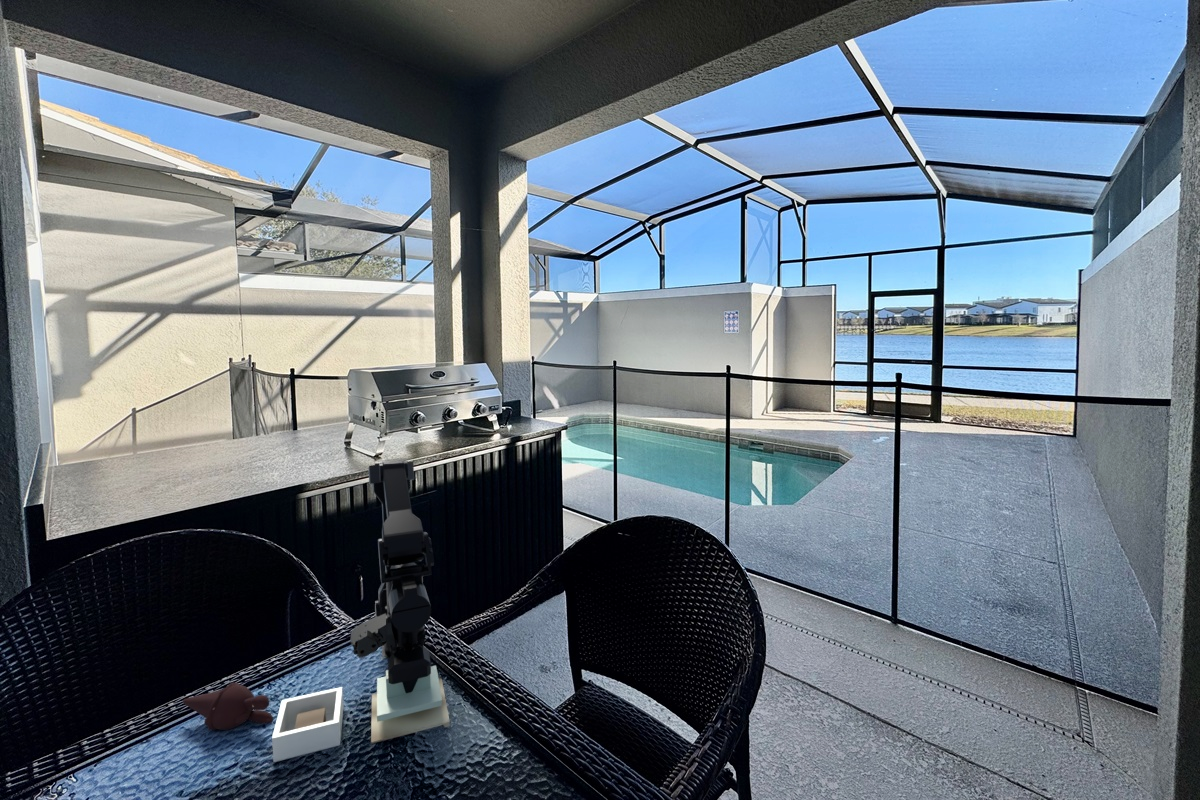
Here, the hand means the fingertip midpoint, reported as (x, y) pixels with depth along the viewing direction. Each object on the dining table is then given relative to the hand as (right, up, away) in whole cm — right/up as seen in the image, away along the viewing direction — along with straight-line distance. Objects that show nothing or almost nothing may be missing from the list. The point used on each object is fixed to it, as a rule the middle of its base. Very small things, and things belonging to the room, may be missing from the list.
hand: (408, 687), depth 91 cm
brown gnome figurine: (-29, -5, -3) cm, 29 cm away
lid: (0, -2, 0) cm, 2 cm away
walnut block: (-14, -5, -5) cm, 16 cm away
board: (0, -5, +1) cm, 5 cm away
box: (-14, -5, -5) cm, 16 cm away
